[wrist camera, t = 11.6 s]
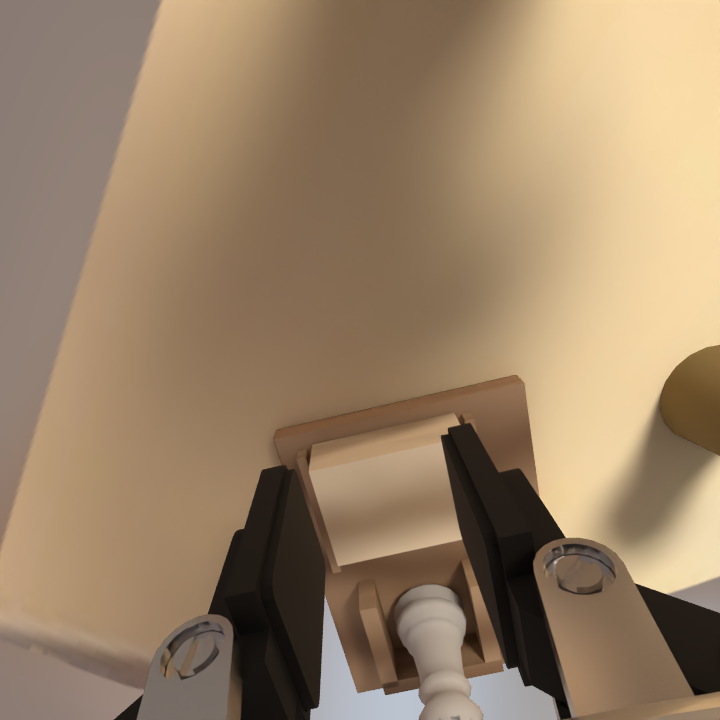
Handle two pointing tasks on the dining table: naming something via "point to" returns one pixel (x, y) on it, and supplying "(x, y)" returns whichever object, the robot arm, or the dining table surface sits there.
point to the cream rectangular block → (386, 490)
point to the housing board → (421, 566)
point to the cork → (695, 399)
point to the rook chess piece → (437, 650)
